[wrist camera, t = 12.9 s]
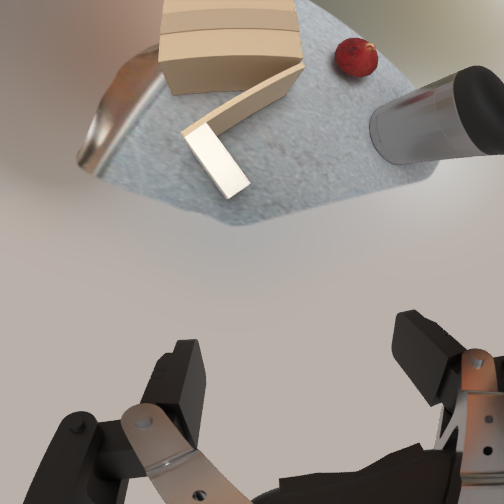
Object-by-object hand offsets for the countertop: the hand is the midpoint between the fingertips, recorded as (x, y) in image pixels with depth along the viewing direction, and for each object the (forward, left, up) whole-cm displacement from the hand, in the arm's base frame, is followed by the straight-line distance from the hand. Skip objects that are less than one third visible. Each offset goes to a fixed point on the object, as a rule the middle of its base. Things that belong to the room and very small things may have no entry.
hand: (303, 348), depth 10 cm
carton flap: (-2, -13, -25) cm, 28 cm away
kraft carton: (+1, -25, -26) cm, 36 cm away
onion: (-16, -25, -26) cm, 39 cm away
